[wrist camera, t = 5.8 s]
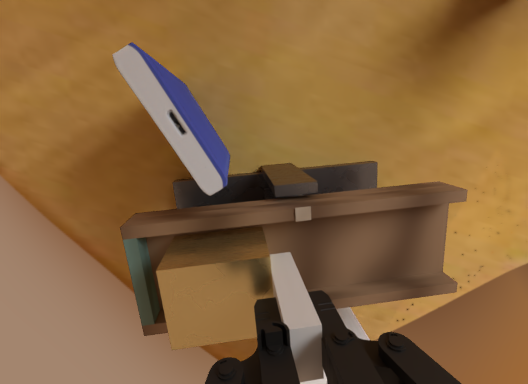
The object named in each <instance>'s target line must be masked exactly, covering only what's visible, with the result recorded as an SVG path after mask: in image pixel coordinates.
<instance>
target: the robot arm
mask: <svg viewBox="0 0 528 384" xmlns="http://www.w3.org/2000/svg"><path fill="white" fill-rule="evenodd" d="M270 259H271V271H272V283H273V295H274V297H273V298H265V299H258V300H257V301H256V303H255V305H254V312H255V322H256V332H257V341H258V347H257V349H256V351H255V353H254V354H253V355H252V356H251V357H249V358H248V359H246V360H244V361H242V362H240V361H239V360H238V359H236V358H231V357H229V358H223V359H221V360H219V361H217V362H216V363H215V364H214V365H213V366H212V368H211V370H210V371H209V374H208V377H207V380H206V382H205V384H300V382H305V381H311V380H317V379H324V372H325V375H326V378H327V384H461V383H460V382H459V381H458V380H456V379H455V378H454V377H453V376H452V375H451V374H449V373H448V372H447V371H446V370H445V369H444V368H442V367H441V366H440V365H439V364H438V363H437V362H435V361H434V360H433V359H432V358H431V357H429V356H428V355H427V354H426V353H425V352H424V351H422V350H421V349H420V348H419V347H418V346H416V345H415V344H414V343H413V342H412V341H411V340H410V339H408V338H407V337H405V336H404V335H401V334H398V333H394V332H387V333H383V334H382V335H380V337H379V339H378V341H371V340H364V339H360V338H358V337H357V336H356V335H355V333H354V332H353V331H351V330H349V329H347V328H346V326H345V324H344V322H343V320H342V319H341V317H340V315H339V313H338V311H337V310H336V308H335V306H334V304H333V303H332V300H331V299H330V297H329V295H328V294H326V293H325V292H324V291H322V290H319V291H312V292H307V289H306V287H305V285H304V283H303V280H302V278H301V276H300V273H299V271H298V269H297V267H296V264H295V262H294V260H293V257H292V255H291V253H290V252H286V253H278V254H270ZM323 369H324V372H323Z"/></svg>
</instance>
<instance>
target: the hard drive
mask: <svg viewBox="0 0 528 384" xmlns="http://www.w3.org/2000/svg"><path fill="white" fill-rule="evenodd" d="M112 56H113V60H114V63H115V65H116V67H117V69H118V70H119V72H120V73H121V75H122V76H123V78H124V79H125V80H126V82H127V83H128V85H129V86H130V87H131V89H132V90H133V92H134V93H135V95H136V96H137V97H138V99H139V100H140V102H141V103H142V105H143V106H144V108H145V109H146V110H147V112H148V113H149V115H150V116H151V117H152V119H153V120H154V122H155V123H156V125H157V126H158V128H159V129H160V131H161V132H162V133H163V135H164V136H165V137H166V139H167V141H168V142H169V144H170V145H171V146H172V148H173V149H174V151H175V152H176V154H177V155H178V156H179V158H180V159H181V161H182V162H183V164H184V165H185V167H186V168H187V170H188V171H189V172H190V174H191V175H192V177H193V178H194V180H195V181H196V183H197V184H198V185H199V187H200V188H201V189H202V190H203V192H205V193H206V194H208V195H209V196H211V195H213V194H214V193H216V192H218V191H219V190H221V189H223V188H224V187H225V186H227V182H228V179H227V178H228V169H229V162H230V155H229V152H228V150H227V149H226V147H225V145H224V144H223V142H222V141H221V139H220V137H219V136H218V134H217V133H216V131H215V130H214V128H213V127H212V125H211V124H210V122H209V120H208V119H207V117H206V116H205V114H204V113H203V111H202V109H201V108H200V106H199V105H198V103H197V102H196V100H195V99H194V97H193V95H192V94H191V92H190V91H189V89H188V88H187V86H186V85H185V84H184V83H183V82H182V81H181V80H179V79H178V78H177V77H176V76H174V75H173V74H172V73H171V72H169V71H168V70H167V69H166V68H164V67H163V66H162V65H161V64H159V63H158V62H157V61H156V60H154V59H153V58H152V57H150V56H149V55H148V54H147V53H145V52H144V51H143V50H142V49H140V48H139V47H138V46H136V45H135V44H134V43H130V44H128V45H126V46H125V47H124V48H122V49H120V50H119V51H117V52H116V53H114V54H113V55H112Z"/></svg>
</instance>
